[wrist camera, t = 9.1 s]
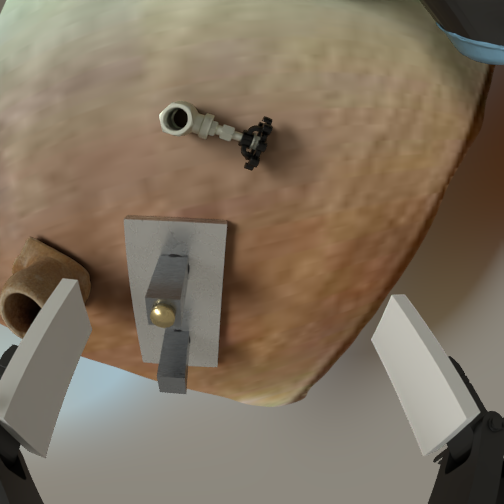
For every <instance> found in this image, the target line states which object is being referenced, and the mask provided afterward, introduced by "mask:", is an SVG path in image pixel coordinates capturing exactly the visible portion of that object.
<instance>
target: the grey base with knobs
mask: <svg viewBox="0 0 504 504" xmlns="http://www.w3.org/2000/svg"><path fill="white" fill-rule="evenodd" d="M124 230H125V243H126V254H127V264H128V273H129V281H130V289H131V296H132V303H133V310H134V316H135V322H136V328H137V333H138V339H139V344H140V349H141V354H142V359H143V362H148V363H159V367H158V373H157V379H158V384H159V389H160V392H167V393H179V394H186V390H187V375H188V366H203V367H217V365H218V347H219V329H220V313H221V298H222V284H223V270H224V257H225V245H226V233H227V220H215V219H198V218H179V217H157V216H133V215H127V216H126V217H125V218H124ZM159 256H174V257H188V285H187V292H186V298H185V305H184V312H183V319H182V327H172V326H170V327H168V328H161V327H158V326H156V325H148V319H147V311H146V303H145V296H146V293H147V290H148V287H149V284H150V281H151V278H152V275H153V273H154V270H155V267H156V264H157V262H158V259H159Z"/></svg>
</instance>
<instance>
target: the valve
mask: <svg viewBox="0 0 504 504" xmlns="http://www.w3.org/2000/svg"><path fill="white" fill-rule="evenodd" d="M180 109H183V110H184V111H185V112H186V113H187V115H188V122H187V124H186V126H185V127H184V128H182V127H179V126H177V125H176V124H175V122H174V115H175V113H176V112H177V111H178V110H180ZM159 117H160V123H161V127H162V131H163V132H165V133H169V134H171V135H174V136H185V135H187V134H189V133H191V132H193V133H196V134H198V137H200V138H203V139H207V136H208V135H211V136H214V135H215V134H216V135H219V138H221V139H224V140H227V141H231V139H234V140H237V141H239V143H238V145H239V146H241V153H242V155H243V156H244V157H245V159H246V160H249V162H248V163H245V165H244V168H246V169H248V170H251V171H252V170H253V168H254V167H257V166H258V164H259V161H260V158H259V157H260V154H261V152H264V151H265V150H266V147H267V143H266V139H267V137H268V135H270V133H271V131H272V128H273V127H272V126H271V123H272V119H270V118H268V117H265V116H264V117H263V119H262V121H264V122H265V123H261V122H259V124H258V126H257V125H256V126H252V127H250V128H249V129H248V131H247V130H244V131H243V132H242V133H240V132H237V131H234V130H235V128H234V127H231V126H228V125H225V124H224V126H221V125H219V124H218V122H216V121H213V120H214V117H215V115H212V114H208V113H206V115H202V114H199V113H198V111H197V109H196V108H195V107H194V106H193V105H192V104H191V103H189V102H186V101H177V102H172V103H171V104H170V105H169V106H168V107H167V108H165V109H164V110H163V111H162V112H161V113H160V114H159ZM254 131H258V133H257V135H256V134H255V133H253V132H254ZM246 148H247V149H251V152H247V151H246Z"/></svg>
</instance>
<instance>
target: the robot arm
mask: <svg viewBox="0 0 504 504" xmlns="http://www.w3.org/2000/svg"><path fill="white" fill-rule="evenodd" d="M420 2H421V3H422V4H423V5H424V7H425V8H426V9H427V10H428V12H429V13H430V14H431V16H432V17H433V18H434V20H435V21H436V24H437V26H438V27H439V28H440V29H441V30H442V31H443V32H444V33H445V34H446V35H447V37H448V38H449V39H450V41H451V42H452V44H453V45H454V46H455V48H456V49H457V50H458V51H459V52H460V53H461V54H463V55H465V56H467V57H468V58H470V59H472V60H474V61H477V62H481V63H486V64H494V65H504V0H420ZM91 331H92V328H91V325H90V322H89V318H88V315H87V312H86V308H85V305H84V302H83V298H82V294H81V291H80V287H79V283H78V280H74V279H65V278H63V279H62V280H61V281H60V283H59V284H58V286H57V287H56V288H55V290H54V291H53V293H52V294H51V296H50V297H49V299H48V300H47V301H46V303H45V304H44V306H43V307H42V309H41V310H40V312H39V313H38V315H37V317H36V318H35V320H34V321H33V323H32V324H31V326H30V328H29V329H28V331H27V333H26V334H25V336H24V338H23V339H22V341H21V343H20V345H19V346H17V345H12V346H11V347H10V348H9V349H8V350H7V351H5V352H4V354H3V355H2V357H1V359H0V504H44V503H43V501H42V499H41V497H40V495H39V493H38V491H37V489H36V487H35V484H34V482H33V480H32V478H31V475H30V473H29V470H28V468H27V465H26V463H25V460H24V457H23V455H22V453H21V451H20V450H19V448H20V445H22V446H23V447H24V448H26V449H27V450H28V451H29V452H32V453H34V454H36V455H39V456H41V457H44V458H46V454H47V451H48V447H49V444H50V440H51V436H52V433H53V430H54V427H55V424H56V421H57V418H58V414H59V412H60V409H61V406H62V403H63V400H64V397H65V395H66V392H67V389H68V387H69V384H70V381H71V379H72V376H73V374H74V371H75V369H76V366H77V364H78V361H79V359H80V356H81V354H82V352H83V349H84V347H85V345H86V342H87V340H88V338H89V336H90V333H91ZM371 340H372V342H373V344H374V346H375V348H376V351H377V353H378V355H379V357H380V359H381V361H382V363H383V365H384V367H385V369H386V371H387V374H388V376H389V378H390V380H391V382H392V384H393V387H394V389H395V391H396V393H397V395H398V398H399V400H400V402H401V404H402V407H403V409H404V411H405V414H406V416H407V418H408V421H409V423H410V425H411V428H412V430H413V433H414V435H415V437H416V440H417V442H418V445H419V447H420V450H421V453H422V455H423V456H426V455H428V454H430V453H433V452H436V451H437V450H439V449H440V448H441V447H443V446H444V445H445V444H447V446H448V448H447V449H445V450H444V451H443V452H441V453H440V454H439V455H438V456H436V457H435V459H434V461H433V462H436V461H438V460H439V459H440V458H442V457H443V458H442V460H440V461H439V463H438V464H441V465H440V469H439V472H438V475H437V479H436V482H435V485H434V488H433V491H432V493H431V496H430V499H429V502H428V504H504V458H503V456H504V418H502V417H501V415H500V414H498V413H497V412H495V411H489V412H488V411H487V410H486V409H485V407H484V405H483V403H482V402H481V400H480V398H479V396H478V395H477V393H476V391H475V390H474V388H473V386H472V384H471V383H469V379H468V378H467V376H465V373H464V371H463V370H462V368H461V367H460V365H459V364H458V363H457V362H456V361H455V360H454V359H453V358H452V357H450V356H449V357H448V356H447V355H446V353H445V352H444V350H443V349H442V347H441V346H440V344H439V342H438V341H437V339H436V338H435V336H434V335H433V333H432V332H431V330H430V329H429V327H428V326H427V325H426V323H425V322H424V320H423V319H422V317H421V316H420V315H419V313H418V312H417V310H416V309H415V308H414V306H413V305H412V303H411V302H410V301H409V299H408V298H407V297H406V295H392V296H391V298H390V300H389V302H388V305H387V307H386V309H385V311H384V314H383V316H382V318H381V320H380V322H379V325H378V327H377V329H376V331H375V333H374V335H373V337H372V339H371Z"/></svg>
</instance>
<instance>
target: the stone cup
mask: <svg viewBox="0 0 504 504" xmlns="http://www.w3.org/2000/svg"><path fill="white" fill-rule="evenodd" d="M12 273H13V275H12V276H11V277H10V278H9V279H8V280H7V282H6V283H5V285H4V287H3V289H2V291H1V294H0V313H1V316H2V319H3V321H4V322H5V324H6V325H7V327H8V328H9V329H10V330H11V331H12V332H13V333H14V334H15V335H17V336H18V337H20V338H22V339H23V338H24V336H25V334H26V333H27V331H28V329H29V328H30V326H31V324H32V323H33V321H34V320H35V318H36V317H37V315H38V313H39V312H40V310H41V309H42V307H43V306H44V304H45V303H46V301H47V300H48V299H49V297H50V296H51V294H52V293H53V291H54V290H55V288H56V287H57V286H58V284H59V283H60V281H61V280H62V279H63V278H65V279H74V280H78V283H79V287H80V291H81V294H82V298H83V302H84V303H85V302H86V300H87V299H88V297H89V294H90V289H91V283H90V281H89V280H90V276H89V273H88V272H87V270H86V269H85V268H84V267H82V266H81V265H80V264H79V263H77V262H76V261H74V260H73V259H71V258H70V257H68V256H66V255H64V254H63V253H61V252H59V251H57V250H55V249H54V248H52V247H50V246H48V245H46V244H44V243H42V242H40V241H39V240H37V239H35V238H33V237H29V238H28V239H27V241H26V242H25V245H24V247H23V249H22V251H21V254H20V255H19V256H18V257H17V258H16V259H15V261H14V264H13V268H12Z"/></svg>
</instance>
